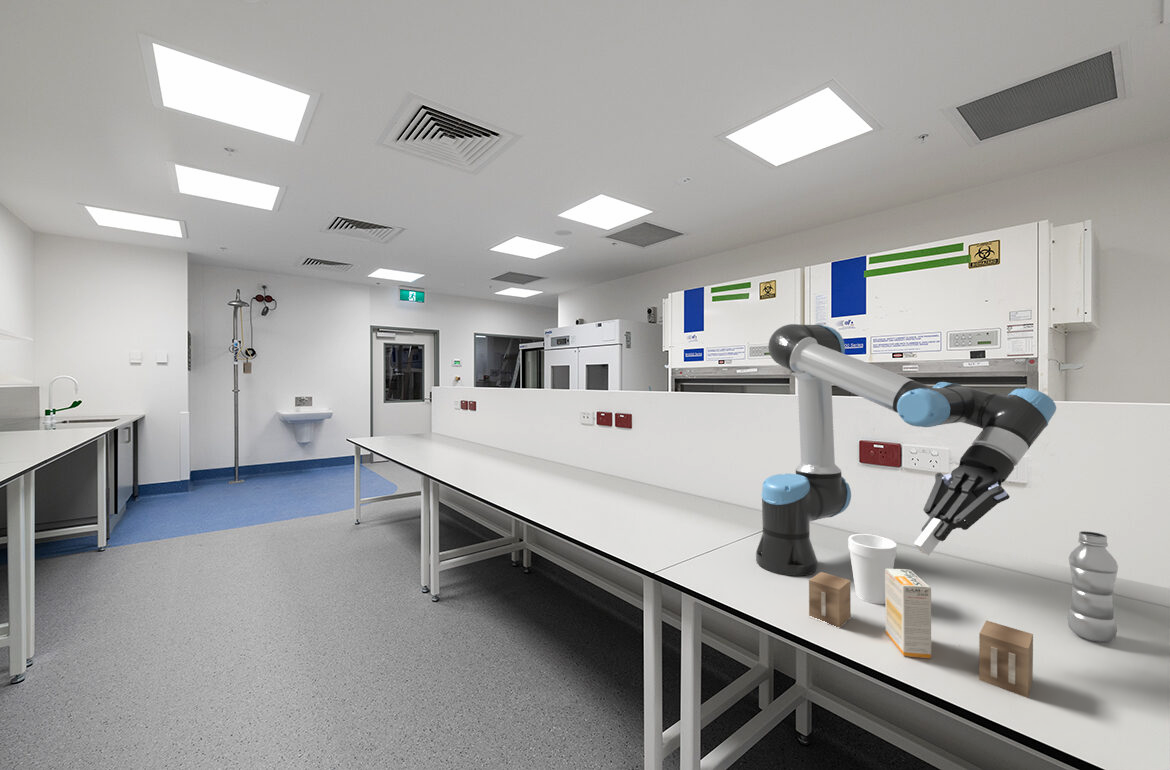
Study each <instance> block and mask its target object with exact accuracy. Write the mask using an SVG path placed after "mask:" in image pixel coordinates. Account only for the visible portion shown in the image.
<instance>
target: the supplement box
mask: <svg viewBox="0 0 1170 770" xmlns="http://www.w3.org/2000/svg"><path fill="white" fill-rule="evenodd" d="M884 605H885V609H884V611H885V634H886V635H887V637H888V638H889V639H890V641H892V643H893V644H894V645H895V647H896V648H897V649H898V650H899V652H900V653H901V654H902V655H903V656H904V657H910V658H921V659H922V658H924V659H931V658H932V587H931V586H930V585H929V584H927V582H925V581H924V580H923V579H922V578H920V577H919V576H918V575H917V574H916V573H915V572H914V571H913V570H912V569H907V568H906V569H905V568H893V569H885V604H884Z"/></svg>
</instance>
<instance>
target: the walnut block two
mask: <svg viewBox="0 0 1170 770" xmlns="http://www.w3.org/2000/svg"><path fill="white" fill-rule="evenodd" d="M978 638H979V640H978V641H979V644H978V646H979V648H978V651H979V652H978V653H979V655H978V656H979V657H978V658H979V659H978V661H979V662H978V664H979V666H978V668H979V669H978V670H979V671H978V673H979V675H978V680H979V681H981V682H983V683H985V684H989V685H991V686H994V687H996V688H999V689H1002V690H1004V691H1007V692H1011V693H1014V694H1016V695H1019V696H1021V697H1023V698H1027V699H1028V698H1029V695H1030V692H1031V688H1032V685H1033V680H1034V675H1033V674H1034V673H1033V671H1034V670H1033V669H1034V668H1033V666H1034V663H1033V662H1034V634H1033V633H1030V632H1027V631H1025V630H1021V629H1017V628H1014V627H1010V626H1007V625H1003V624H1000V623H997V622H993V621H989V620H985V622H984V623H983V625H982V628H981V629H980V631H979V637H978Z"/></svg>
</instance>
